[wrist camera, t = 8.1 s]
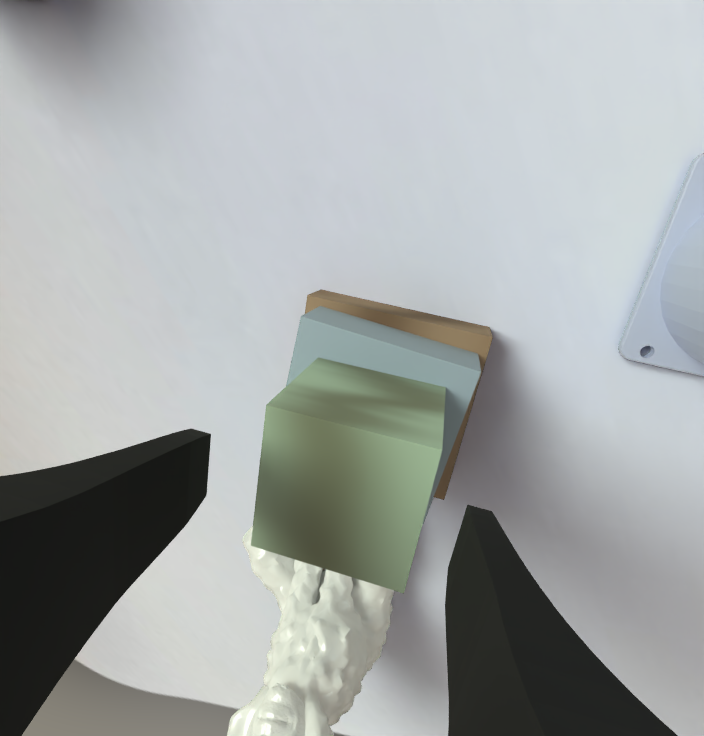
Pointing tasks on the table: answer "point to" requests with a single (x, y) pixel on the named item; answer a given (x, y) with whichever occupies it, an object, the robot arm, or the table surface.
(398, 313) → the walnut slab
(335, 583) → the seated beast figurine
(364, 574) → the green cube
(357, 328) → the slate blue slab
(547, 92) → the table surface
